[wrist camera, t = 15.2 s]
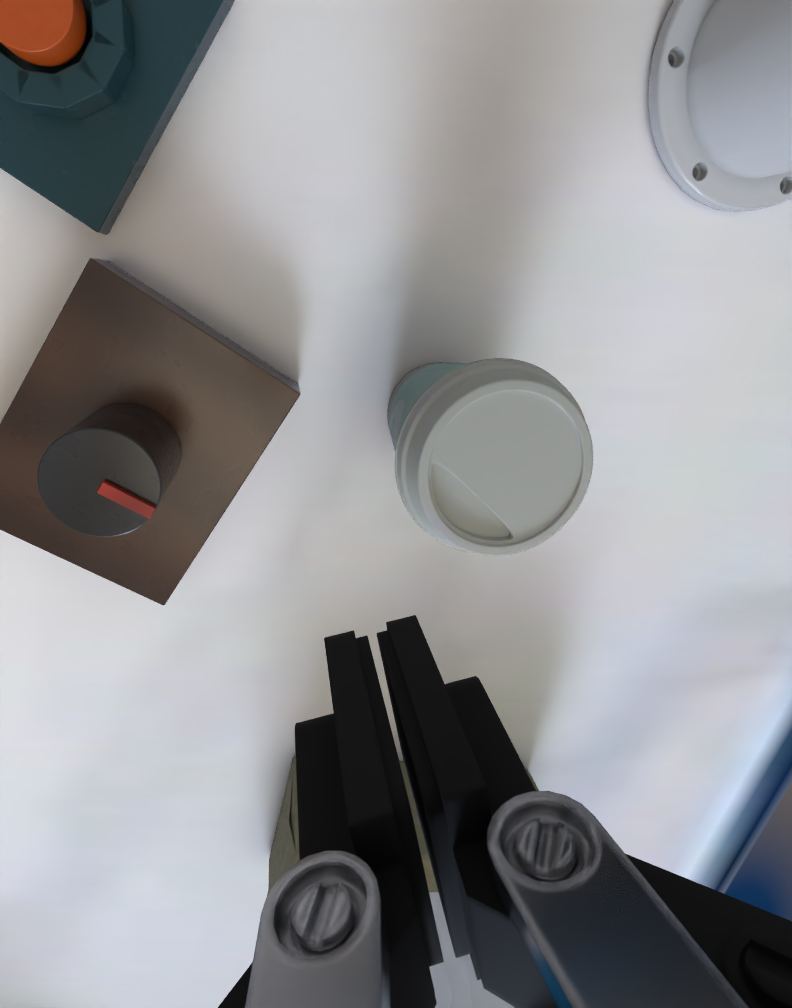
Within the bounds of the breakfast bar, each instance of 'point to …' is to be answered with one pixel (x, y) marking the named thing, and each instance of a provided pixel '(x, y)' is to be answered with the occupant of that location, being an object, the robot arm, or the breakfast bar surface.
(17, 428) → the panel
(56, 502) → the knob
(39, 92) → the button box
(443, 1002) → the tissue box
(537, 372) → the coffee cup
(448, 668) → the breakfast bar surface
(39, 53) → the button
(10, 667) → the breakfast bar surface
